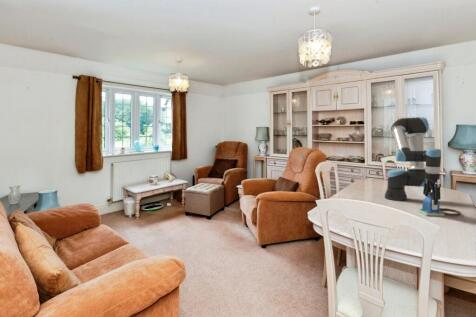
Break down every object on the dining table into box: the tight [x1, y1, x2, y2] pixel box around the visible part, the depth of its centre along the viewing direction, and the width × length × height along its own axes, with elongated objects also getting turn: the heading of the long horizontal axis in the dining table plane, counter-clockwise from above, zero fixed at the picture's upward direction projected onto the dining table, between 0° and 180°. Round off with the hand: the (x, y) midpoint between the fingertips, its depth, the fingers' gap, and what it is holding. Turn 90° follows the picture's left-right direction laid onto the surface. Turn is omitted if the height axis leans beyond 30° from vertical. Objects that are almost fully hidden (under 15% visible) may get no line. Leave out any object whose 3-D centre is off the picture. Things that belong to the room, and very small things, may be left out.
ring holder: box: [439, 207, 462, 217], centre depth 159 cm, size 12×12×1 cm
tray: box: [417, 208, 446, 217], centre depth 160 cm, size 10×10×2 cm
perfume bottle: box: [421, 191, 441, 212], centre depth 159 cm, size 6×6×12 cm
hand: (430, 207), depth 159 cm, fingers closed on perfume bottle, 7 cm apart
